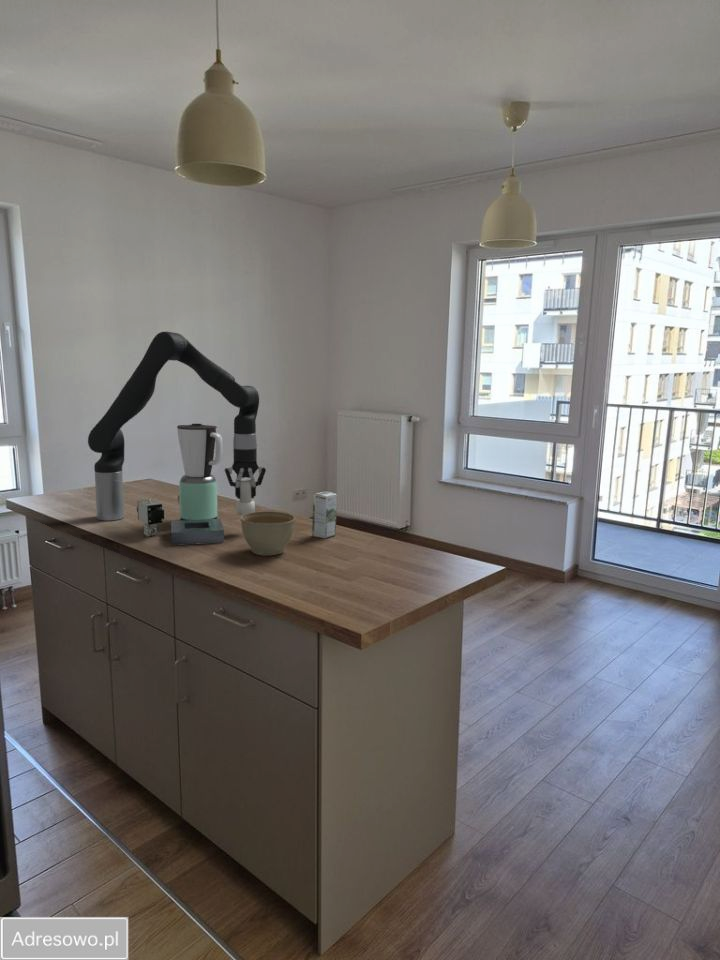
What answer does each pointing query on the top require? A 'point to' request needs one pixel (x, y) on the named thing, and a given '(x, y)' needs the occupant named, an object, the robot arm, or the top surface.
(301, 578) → the top surface
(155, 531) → the pneumatic valve
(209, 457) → the mint green blender
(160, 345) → the robot arm
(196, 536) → the bore block
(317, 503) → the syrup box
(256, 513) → the planter bowl
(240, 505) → the white stepped cylindrical peg
